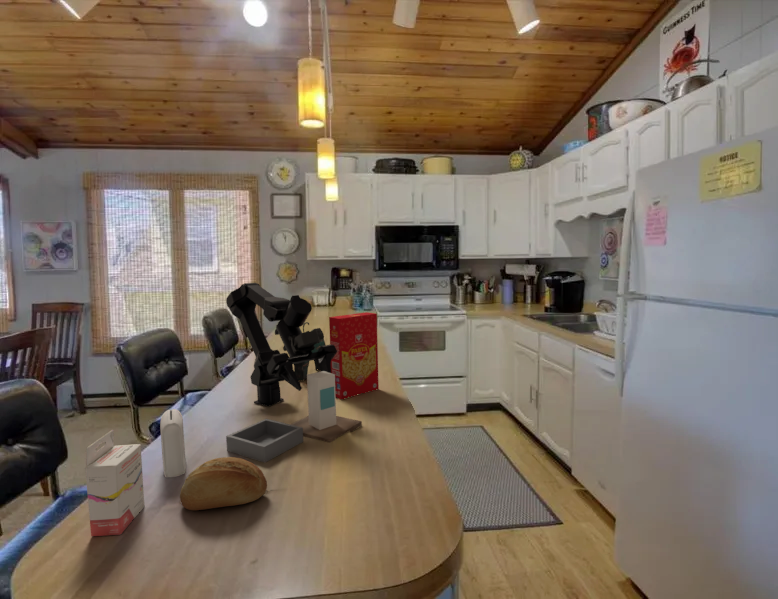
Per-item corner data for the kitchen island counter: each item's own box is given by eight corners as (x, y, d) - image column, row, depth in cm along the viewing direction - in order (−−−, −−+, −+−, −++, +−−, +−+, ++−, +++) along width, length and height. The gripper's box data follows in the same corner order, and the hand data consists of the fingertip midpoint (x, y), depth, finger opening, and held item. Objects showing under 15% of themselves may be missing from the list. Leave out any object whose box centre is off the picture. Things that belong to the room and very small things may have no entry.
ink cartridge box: (122, 535, 72) (114, 447, 70) (90, 537, 71) (81, 449, 70) (146, 505, 80) (140, 426, 78) (117, 507, 80) (110, 428, 78)
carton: (309, 424, 113) (306, 374, 112) (325, 419, 117) (323, 370, 115) (320, 430, 110) (318, 378, 108) (337, 424, 113) (335, 374, 112)
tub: (227, 453, 101) (226, 436, 100) (266, 434, 111) (266, 418, 110) (264, 465, 94) (264, 447, 94) (303, 443, 105) (302, 427, 104)
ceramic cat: (303, 382, 155) (301, 325, 153) (287, 381, 158) (284, 325, 156) (330, 368, 174) (328, 317, 172) (315, 367, 176) (313, 317, 174)
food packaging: (341, 399, 136) (338, 318, 133) (331, 395, 140) (329, 317, 137) (378, 389, 146) (376, 313, 143) (368, 386, 150) (366, 312, 147)
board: (282, 432, 112) (282, 427, 112) (316, 415, 123) (316, 411, 123) (330, 444, 104) (329, 439, 104) (361, 425, 115) (361, 421, 115)
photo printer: (164, 461, 97) (159, 406, 96) (185, 456, 99) (181, 403, 98) (163, 482, 88) (158, 422, 87) (187, 477, 90) (182, 418, 89)
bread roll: (265, 512, 77) (263, 468, 76) (173, 525, 74) (169, 479, 73) (269, 484, 87) (267, 445, 86) (186, 494, 84) (183, 454, 83)
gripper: (270, 323, 110) (294, 375, 103) (332, 315, 122) (358, 361, 115) (257, 349, 117) (279, 400, 110) (317, 339, 129) (341, 384, 122)
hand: (316, 385), depth 114 cm, fingers open, 9 cm apart
